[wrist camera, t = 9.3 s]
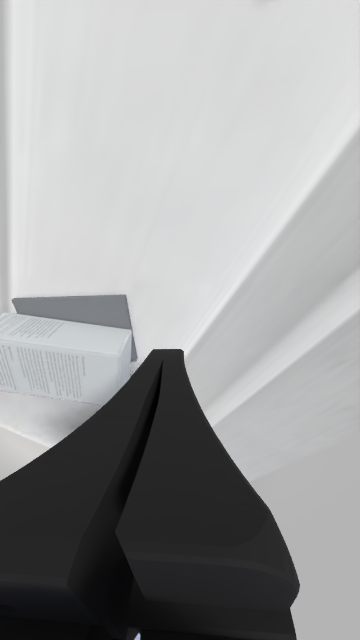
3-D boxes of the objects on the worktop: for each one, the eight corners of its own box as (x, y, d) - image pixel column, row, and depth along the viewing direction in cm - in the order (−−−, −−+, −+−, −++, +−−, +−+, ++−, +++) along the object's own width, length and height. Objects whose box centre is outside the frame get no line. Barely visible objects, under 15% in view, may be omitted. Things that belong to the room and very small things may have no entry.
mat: (137, 358, 23) (136, 360, 23) (40, 359, 24) (38, 361, 24) (125, 294, 20) (124, 296, 20) (14, 298, 21) (11, 299, 20)
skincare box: (19, 360, 24) (131, 377, 24) (-15, 390, 20) (118, 410, 20) (5, 308, 21) (133, 328, 21) (-36, 332, 17) (119, 356, 17)
